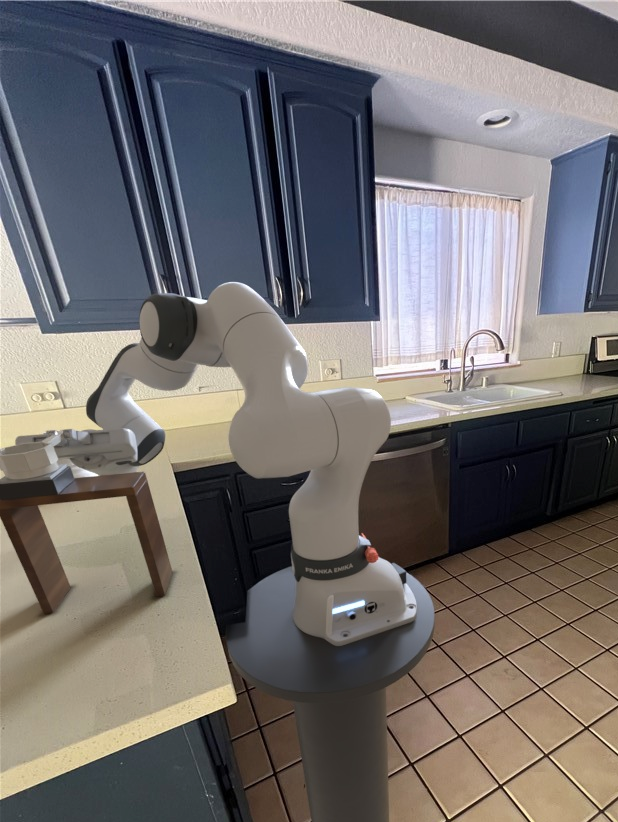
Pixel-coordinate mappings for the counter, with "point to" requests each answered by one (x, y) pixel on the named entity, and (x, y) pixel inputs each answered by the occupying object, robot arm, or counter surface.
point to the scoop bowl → (30, 458)
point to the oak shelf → (39, 548)
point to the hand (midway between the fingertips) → (59, 433)
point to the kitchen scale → (37, 484)
